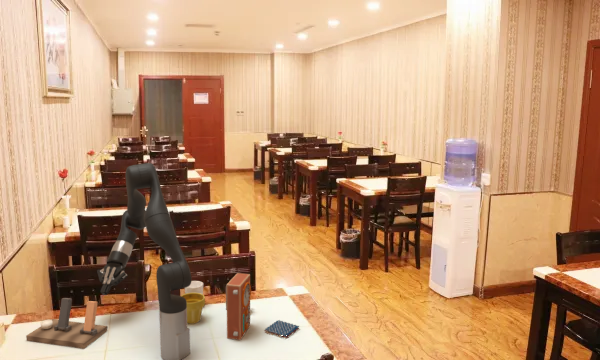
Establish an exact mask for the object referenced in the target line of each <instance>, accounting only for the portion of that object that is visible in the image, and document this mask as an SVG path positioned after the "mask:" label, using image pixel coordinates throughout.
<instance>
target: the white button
mask: <svg viewBox="0 0 600 360" xmlns="http://www.w3.org/2000/svg"><path fill="white" fill-rule="evenodd" d="M40 327H41V329H49V328H51V327H53V322H52V319H45V320H42V321H41V322H40Z"/></svg>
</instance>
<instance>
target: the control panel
mask: <svg viewBox="0 0 600 360" xmlns="http://www.w3.org/2000/svg"><path fill="white" fill-rule="evenodd" d="M251 286H252V285H251V274H250V273H241V272H237V273H236V274H235V275H234V276H233V277H232V278H231V279H230V280H229V282H228V283H226V286H225V310H226V338H227V339H228V340H239V341H241V339H242V338H243V337H244V335H245V334H246V332H247V330H248V329H249V327H251V296H252V287H251Z"/></svg>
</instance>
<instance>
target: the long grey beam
mask: <svg viewBox="0 0 600 360" xmlns="http://www.w3.org/2000/svg"><path fill="white" fill-rule="evenodd" d="M72 304H73V299H72V298H70V297H69V298H68V297H63V298H61V301H60V309H59V314H58V315H59V316H58V320H59V321H58V329H60V330H65V328H66V327H67V326H68V325H69V321H70V318H71V317H70V316H71V311H72V310H71V309H72Z"/></svg>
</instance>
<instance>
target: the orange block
mask: <svg viewBox="0 0 600 360" xmlns="http://www.w3.org/2000/svg"><path fill="white" fill-rule="evenodd" d="M97 310H98V301H95V300H94V301H92V300H89V301H87V302H86V309H85V317H84V322H83V323H84V330H83V332H84V333H89V334H91V331H92V330H94V326H95V325H96V317H97Z"/></svg>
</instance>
